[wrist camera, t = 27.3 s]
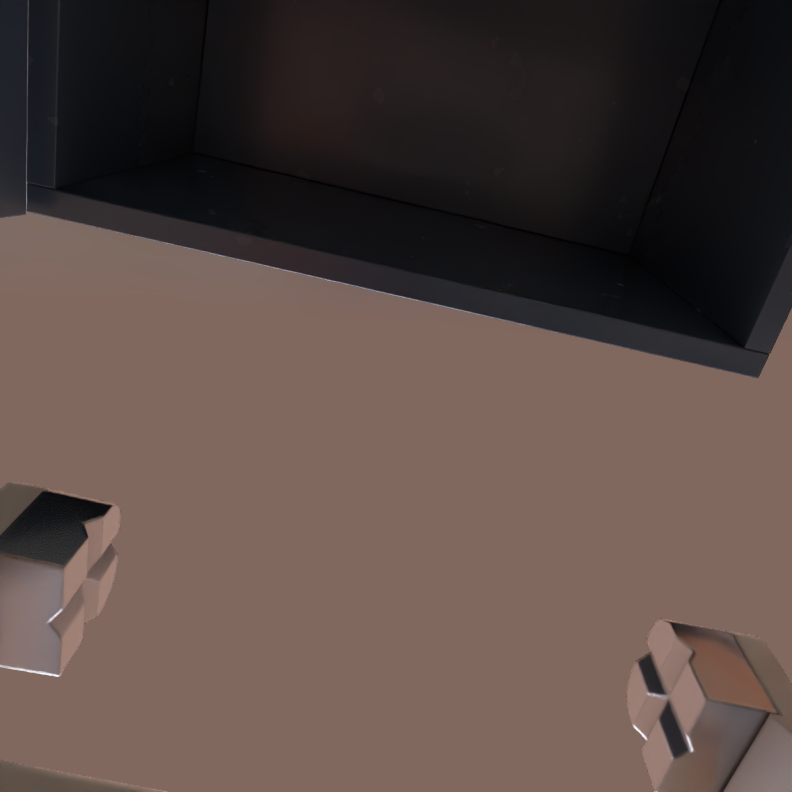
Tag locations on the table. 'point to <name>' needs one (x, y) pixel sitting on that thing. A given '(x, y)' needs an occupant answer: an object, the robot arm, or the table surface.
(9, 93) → the cupboard door
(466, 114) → the cupboard
